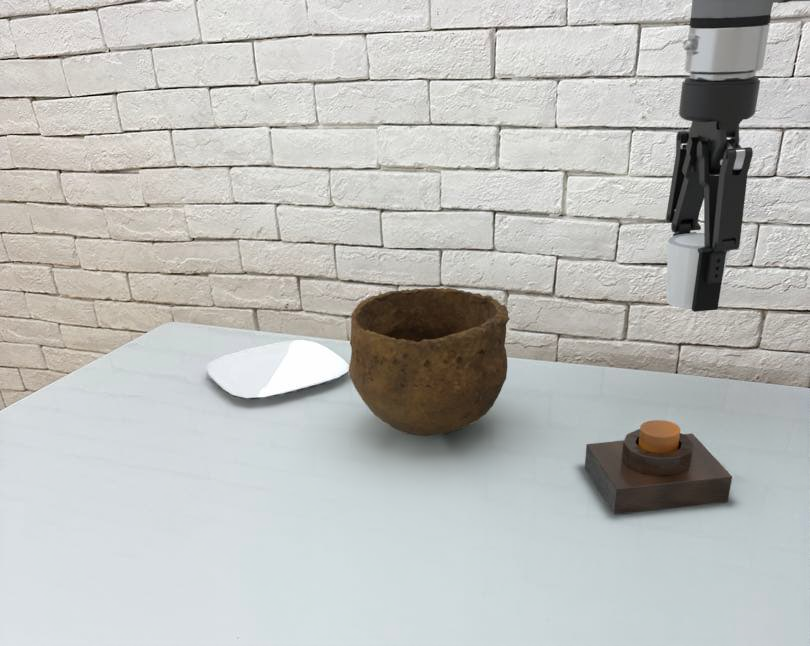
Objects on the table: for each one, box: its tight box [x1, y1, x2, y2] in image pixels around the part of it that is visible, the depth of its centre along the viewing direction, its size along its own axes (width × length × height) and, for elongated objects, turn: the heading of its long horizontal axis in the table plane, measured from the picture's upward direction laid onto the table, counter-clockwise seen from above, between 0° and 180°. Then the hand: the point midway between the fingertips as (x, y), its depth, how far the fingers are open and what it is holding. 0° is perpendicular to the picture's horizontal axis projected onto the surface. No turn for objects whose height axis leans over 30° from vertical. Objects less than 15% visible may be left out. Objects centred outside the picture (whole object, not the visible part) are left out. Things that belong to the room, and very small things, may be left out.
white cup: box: [665, 232, 730, 310], centre depth 97 cm, size 7×7×7 cm
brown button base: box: [584, 428, 733, 515], centre depth 90 cm, size 12×10×5 cm
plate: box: [205, 339, 350, 401], centre depth 121 cm, size 18×18×2 cm
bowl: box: [348, 287, 510, 437], centre depth 101 cm, size 19×19×15 cm
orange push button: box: [638, 419, 682, 453], centre depth 88 cm, size 4×4×2 cm
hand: (691, 299), depth 99 cm, fingers closed on white cup, 7 cm apart
